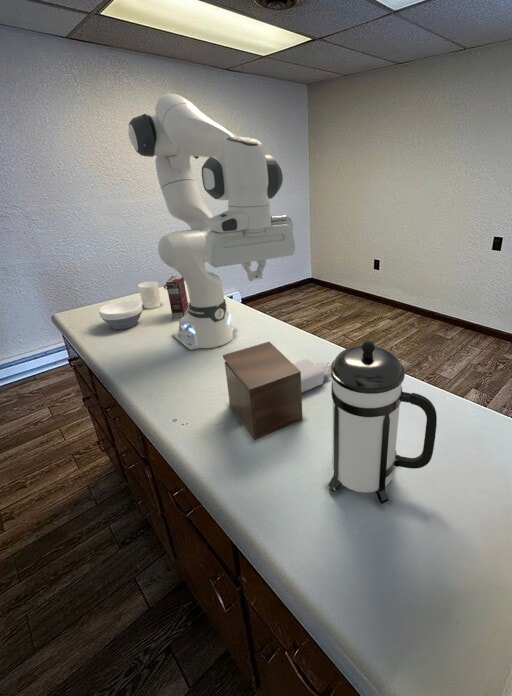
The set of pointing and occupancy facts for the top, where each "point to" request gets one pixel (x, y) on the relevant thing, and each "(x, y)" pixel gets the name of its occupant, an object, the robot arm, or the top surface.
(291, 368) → the lid
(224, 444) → the top surface
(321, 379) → the tissue pack
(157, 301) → the white cup
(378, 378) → the coffee press
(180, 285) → the supplement box
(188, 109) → the robot arm
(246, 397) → the box
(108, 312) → the bowl
